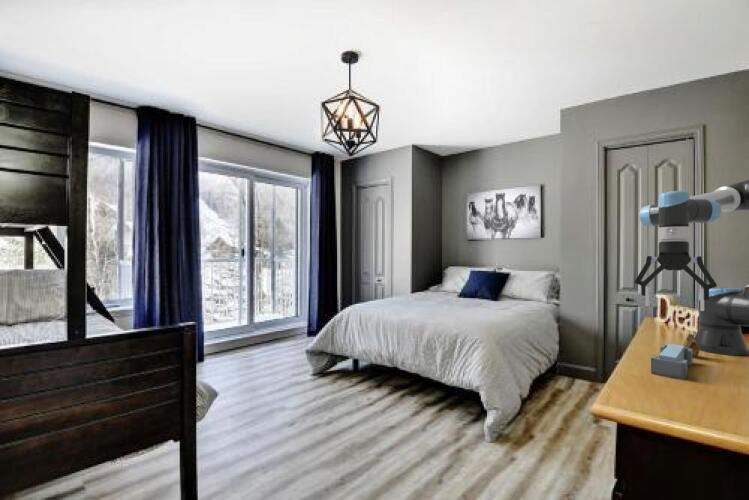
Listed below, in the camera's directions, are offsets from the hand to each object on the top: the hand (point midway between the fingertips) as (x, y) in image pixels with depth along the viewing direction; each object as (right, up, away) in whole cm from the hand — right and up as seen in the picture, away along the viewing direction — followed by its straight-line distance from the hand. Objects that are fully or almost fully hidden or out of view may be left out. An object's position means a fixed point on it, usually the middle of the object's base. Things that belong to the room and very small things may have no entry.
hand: (673, 308), depth 120 cm
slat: (-1, -18, 0) cm, 18 cm away
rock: (+17, -19, +14) cm, 29 cm away
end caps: (-1, -19, 0) cm, 19 cm away
